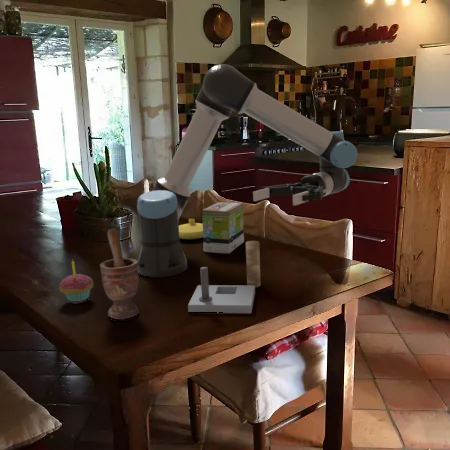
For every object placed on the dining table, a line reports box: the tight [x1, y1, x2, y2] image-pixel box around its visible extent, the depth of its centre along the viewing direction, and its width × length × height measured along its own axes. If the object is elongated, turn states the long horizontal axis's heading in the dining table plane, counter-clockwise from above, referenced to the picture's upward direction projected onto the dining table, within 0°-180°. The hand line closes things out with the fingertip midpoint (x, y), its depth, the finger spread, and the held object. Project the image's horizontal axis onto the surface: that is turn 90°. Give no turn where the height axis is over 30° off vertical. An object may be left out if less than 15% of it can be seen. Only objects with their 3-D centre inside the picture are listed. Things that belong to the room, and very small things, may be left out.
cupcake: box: [58, 259, 94, 301], centre depth 124 cm, size 9×8×12 cm
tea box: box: [201, 201, 245, 255], centre depth 166 cm, size 15×10×15 cm
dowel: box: [245, 240, 261, 288], centre depth 129 cm, size 4×4×12 cm
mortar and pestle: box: [99, 228, 140, 319], centre depth 114 cm, size 12×9×20 cm
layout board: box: [187, 266, 256, 314], centre depth 119 cm, size 15×13×10 cm
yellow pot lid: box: [179, 218, 203, 240], centre depth 182 cm, size 16×16×7 cm
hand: (273, 198), depth 132 cm, fingers open, 13 cm apart
